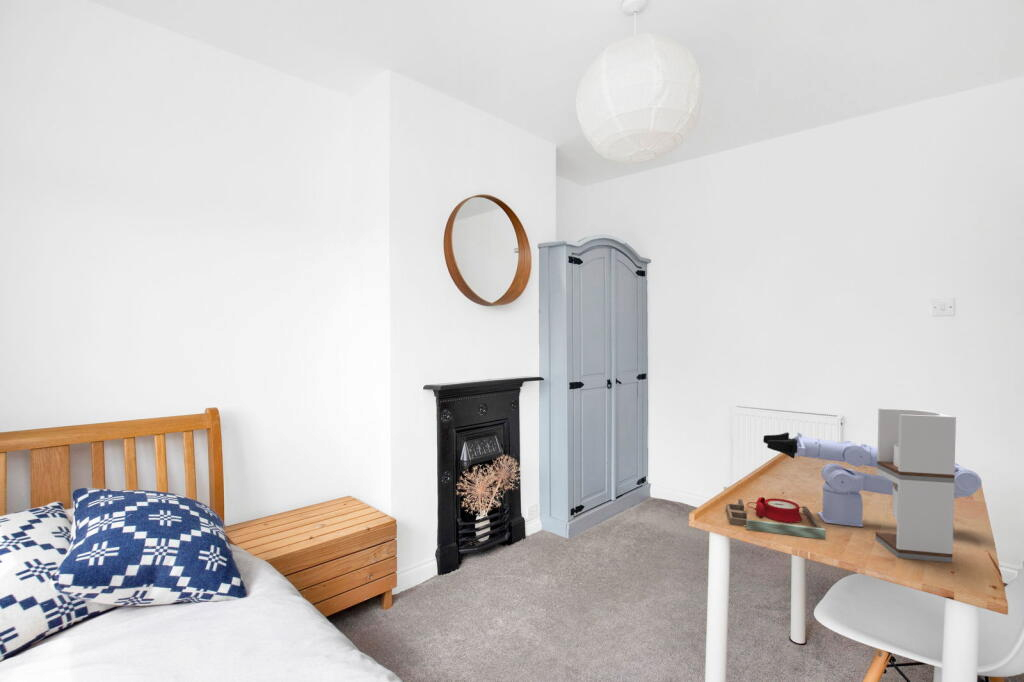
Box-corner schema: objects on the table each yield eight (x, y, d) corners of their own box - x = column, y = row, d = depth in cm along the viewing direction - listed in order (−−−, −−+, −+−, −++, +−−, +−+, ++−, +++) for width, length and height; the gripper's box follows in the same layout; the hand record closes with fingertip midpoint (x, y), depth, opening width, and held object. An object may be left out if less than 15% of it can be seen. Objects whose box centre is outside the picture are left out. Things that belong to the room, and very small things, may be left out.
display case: (924, 544, 128) (928, 410, 128) (952, 562, 118) (955, 417, 117) (875, 539, 130) (878, 408, 130) (898, 557, 120) (901, 414, 119)
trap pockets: (740, 510, 151) (740, 504, 151) (745, 526, 139) (745, 519, 139) (726, 508, 152) (726, 503, 152) (730, 524, 140) (730, 517, 140)
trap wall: (806, 512, 150) (806, 504, 150) (825, 539, 130) (825, 530, 130) (738, 504, 156) (738, 496, 156) (746, 529, 136) (746, 520, 136)
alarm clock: (807, 514, 139) (750, 493, 146) (800, 534, 140) (744, 513, 147) (805, 503, 148) (752, 484, 155) (800, 522, 149) (746, 503, 156)
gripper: (811, 430, 152) (763, 424, 157) (824, 440, 138) (770, 433, 143) (809, 453, 152) (761, 446, 157) (821, 464, 139) (768, 457, 143)
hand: (765, 441), depth 150 cm, fingers open, 7 cm apart
